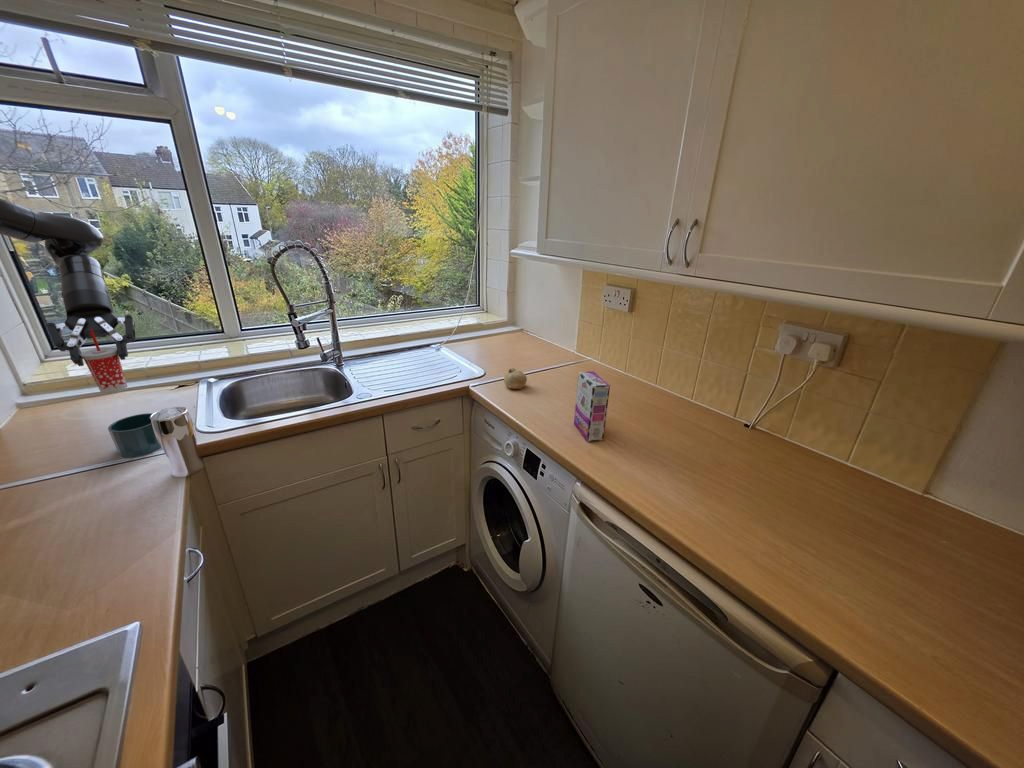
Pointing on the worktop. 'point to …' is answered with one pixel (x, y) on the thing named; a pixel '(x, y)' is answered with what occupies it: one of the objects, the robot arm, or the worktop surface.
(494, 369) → the worktop surface
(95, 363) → the beverage cup
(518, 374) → the onion
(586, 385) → the candy bar box
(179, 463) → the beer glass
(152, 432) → the teal round pot
